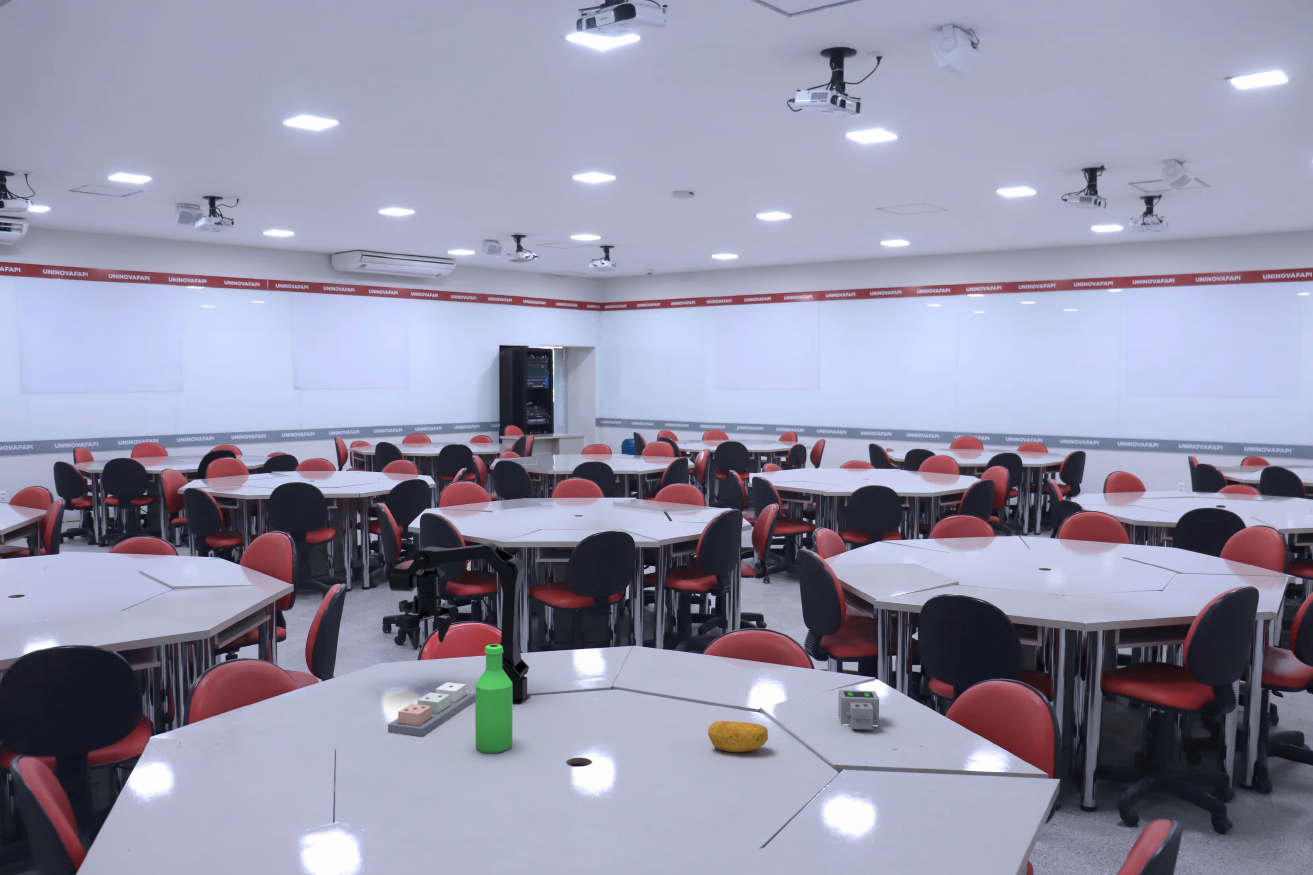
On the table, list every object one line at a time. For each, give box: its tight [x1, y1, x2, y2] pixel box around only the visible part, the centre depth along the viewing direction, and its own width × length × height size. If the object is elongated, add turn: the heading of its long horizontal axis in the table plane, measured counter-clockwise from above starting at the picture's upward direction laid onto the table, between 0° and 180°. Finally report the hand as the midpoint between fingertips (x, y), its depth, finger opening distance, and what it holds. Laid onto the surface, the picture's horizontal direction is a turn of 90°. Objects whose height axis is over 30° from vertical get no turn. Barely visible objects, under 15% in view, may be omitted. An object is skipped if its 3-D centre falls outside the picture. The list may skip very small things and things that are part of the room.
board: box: [387, 692, 475, 737], centre depth 229 cm, size 10×27×2 cm, turn 163°
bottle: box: [474, 643, 514, 754], centre depth 208 cm, size 9×9×25 cm
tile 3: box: [397, 703, 432, 726], centre depth 220 cm, size 6×6×3 cm
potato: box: [707, 720, 769, 753], centre depth 208 cm, size 7×14×7 cm, turn 81°
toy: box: [837, 689, 880, 731], centre depth 226 cm, size 10×8×15 cm
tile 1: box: [435, 681, 467, 703], centre depth 238 cm, size 6×6×3 cm
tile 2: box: [417, 692, 450, 714], centre depth 229 cm, size 6×6×3 cm
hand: (428, 645), depth 245 cm, fingers open, 9 cm apart
